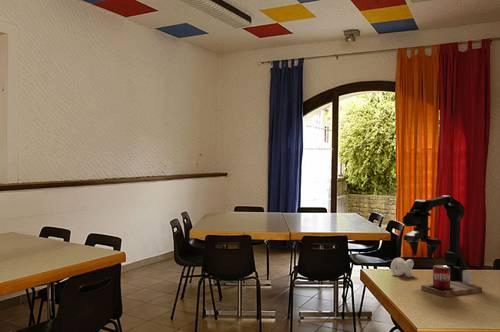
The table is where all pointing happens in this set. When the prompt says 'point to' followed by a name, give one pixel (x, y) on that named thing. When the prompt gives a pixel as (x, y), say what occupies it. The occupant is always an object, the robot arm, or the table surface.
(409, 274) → the white rounded piece
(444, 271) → the soda can
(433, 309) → the table surface
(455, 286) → the brown piece
